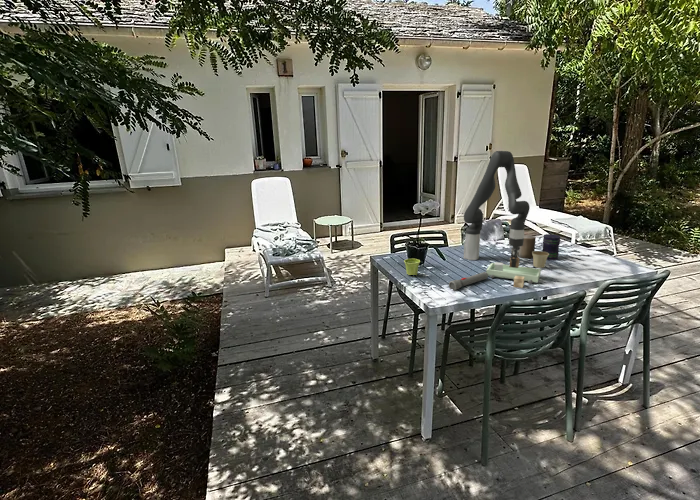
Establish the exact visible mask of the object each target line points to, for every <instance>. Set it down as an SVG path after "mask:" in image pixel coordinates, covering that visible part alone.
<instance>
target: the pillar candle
mask: <svg viewBox="0 0 700 500" xmlns="http://www.w3.org/2000/svg"><path fill="white" fill-rule="evenodd" d="M535 247H536V236H534V235H531V234H524V242H523V246H520V251H519V256H518V257H519V258H520V259H533V254H532V252H534V251H536V250H535Z"/></svg>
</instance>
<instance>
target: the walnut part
mask: <svg viewBox="0 0 700 500" xmlns="http://www.w3.org/2000/svg"><path fill="white" fill-rule="evenodd" d="M513 259H515V258H513ZM520 259H521V257H519V256H518V257H517V259H516V260H517V261H516V267H515V268H518V267H519V266H520ZM511 264H512V261H511V257H510V258H509V264H508V265H509V267H511ZM512 268H514V267H512Z"/></svg>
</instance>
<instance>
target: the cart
mask: <svg viewBox="0 0 700 500" xmlns="http://www.w3.org/2000/svg"><path fill="white" fill-rule="evenodd" d="M509 265H510V264H504V263H503V271H497V270H495V262H491V263H490V264H489V265H488V267H487V268H486V270H485V272H486V273H487V274H488V277H489V278H490V279H491V278H492V279H494V278H503V279H510V280H514V278H515V276H521V277H524V282H527V283H528V285H532V284H533V283H536V284H537V283H538V282H539V280H540V278H541V273H542V268H537V267H535V268H534V267H526V266H520V265H519V267H518V268H512V267H509Z"/></svg>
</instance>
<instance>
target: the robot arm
mask: <svg viewBox="0 0 700 500" xmlns="http://www.w3.org/2000/svg"><path fill="white" fill-rule="evenodd" d="M488 161H489V162H488V164H487V167H486V170H485V172H484V174H483V177H482V178H481V181H480V183H479V185H478V187H477V190H476V191H475V194H474V196H473V197H472V199H471V201H470V203H469V205H468V206H467V208H466V209H465V211H464V214H463V220H464V222H465V224H470V225H469V226H467V228H465V239H464V245H463V259H464V260H469V261H475V260H476V261H477V260H479V258H480V245H481V243H480V241H481V231H482V230H483V224H484V223H483V221H484V220H483V219H484V213H483V211H482V209H480V208H481V207H482V206H483V205H484V204H485V203H486V202H487V201H488V200H490V198H491V197H492V195H493V194H494V191H495V189H496V181H495V174H496V172H497V170H498V169H499V168H504V169H505V172H506V177H505V178H506V179H505V182H504V188H505V189H504V190H505V192H506V195H507V197H508V198H507V199H508V201H507V202H508V204H507V205H508V207H507V208H508V211H509V213H510V214H512V215H517V216H516V217H513V218H512V219H511V220H510V230H509V236H508V237H509V238H508V245H509V246H511V250H510V258H511V261H512V264H511V267H514V268H515V267H516V261H517V260H516V259H517V257H519V251H520V246H523V242H524V235H525V224H526V220H527V217H528V215H529V212H530V210H531V209H530V207H531V206H530V204H529V202H528V201H526V200H518V199H520V198H521V197H522V191H521V188H520V185H519V182H518V178H517V172H516V166H515V160H514V154H512V152H511V151H507V150H496V151H494V152H493V153H492V155H491V156H490V158H489V160H488ZM513 258H515V259H513Z"/></svg>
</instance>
